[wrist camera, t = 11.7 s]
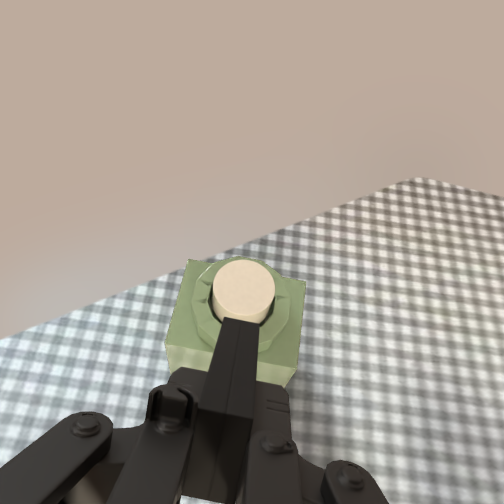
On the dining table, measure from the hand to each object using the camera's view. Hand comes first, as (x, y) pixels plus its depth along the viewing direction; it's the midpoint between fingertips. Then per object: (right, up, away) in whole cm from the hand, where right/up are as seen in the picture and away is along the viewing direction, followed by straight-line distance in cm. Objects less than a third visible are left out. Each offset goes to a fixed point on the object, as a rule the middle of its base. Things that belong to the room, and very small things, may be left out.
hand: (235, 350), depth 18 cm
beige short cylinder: (0, 0, +15) cm, 15 cm away
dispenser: (-2, -7, +26) cm, 27 cm away
